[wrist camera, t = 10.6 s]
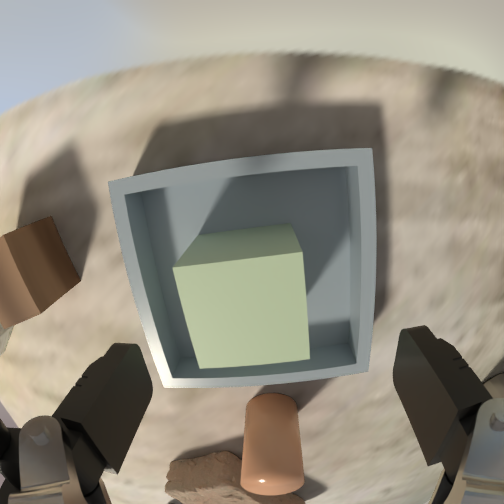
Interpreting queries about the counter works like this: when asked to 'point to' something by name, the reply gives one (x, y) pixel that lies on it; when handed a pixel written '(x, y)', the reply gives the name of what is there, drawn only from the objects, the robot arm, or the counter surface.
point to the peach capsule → (272, 446)
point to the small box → (4, 337)
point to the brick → (216, 482)
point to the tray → (249, 216)
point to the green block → (245, 297)
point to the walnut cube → (33, 271)
